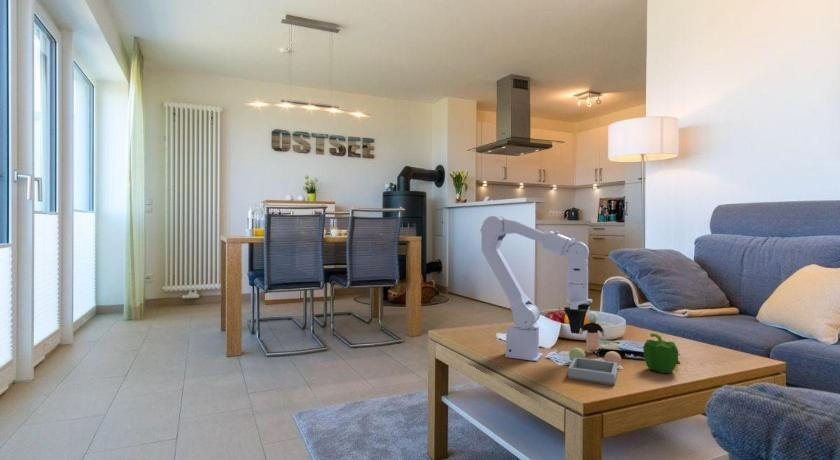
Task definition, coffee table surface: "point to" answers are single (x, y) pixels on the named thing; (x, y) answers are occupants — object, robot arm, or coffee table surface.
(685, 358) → the coffee table surface
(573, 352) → the olive ball
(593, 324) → the grandmother figurine
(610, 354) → the terracotta ball
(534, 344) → the robot arm
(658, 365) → the bell pepper
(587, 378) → the dish
